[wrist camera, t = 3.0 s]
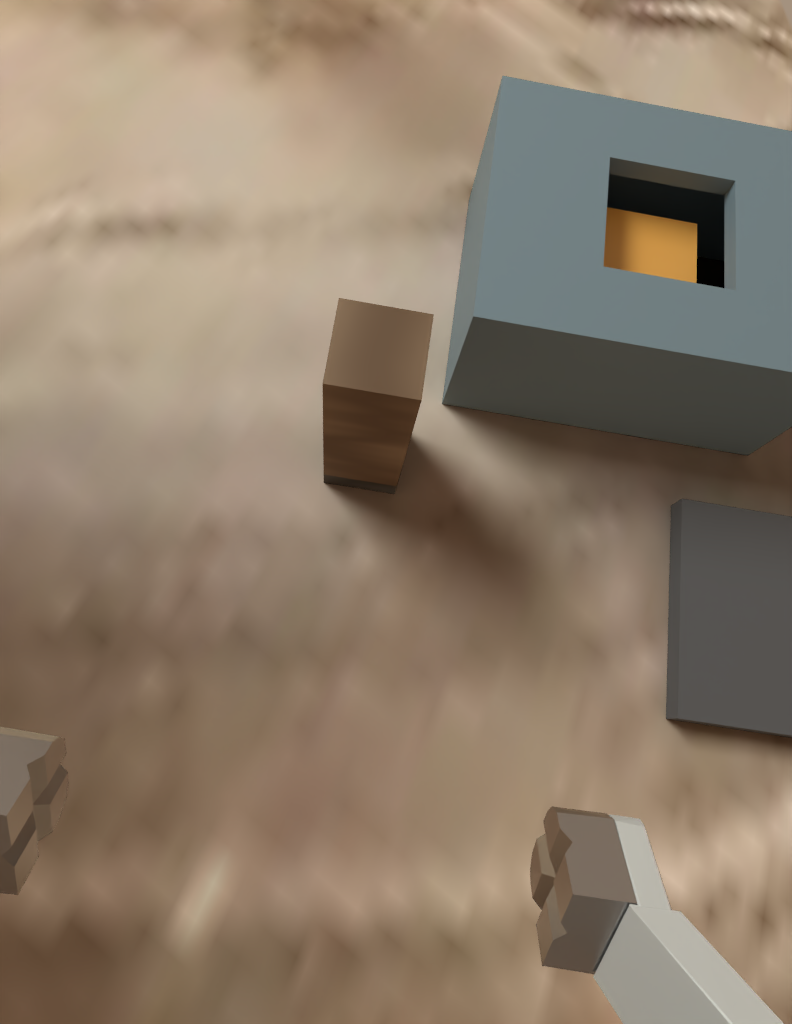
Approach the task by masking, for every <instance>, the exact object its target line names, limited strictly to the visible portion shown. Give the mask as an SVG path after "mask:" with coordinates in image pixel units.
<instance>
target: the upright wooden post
mask: <svg viewBox="0 0 792 1024" xmlns="http://www.w3.org/2000/svg"><path fill="white" fill-rule="evenodd" d="M432 322H433V314H427V313H422V312H416V311H410V310H404V309H399V308H393V307H387V306H382V305H376V304H370V303H364V302H359V301H353V300H347V299H342V298H339V301H338V306H337V311H336V317H335V322H334V327H333V332H332V338H331V343H330V348H329V353H328V359H327V364H326V369H325V375H324V380H323V447H324V483H330V484H336V485H343V486H349V487H355V488H361V489H367V490H373V491H379V492H386V493H392V494H395V490H396V487H397V483H398V480H399V476H400V473H401V469H402V466H403V462H404V459H405V455H406V452H407V449H408V445H409V442H410V438H411V435H412V431H413V428H414V424H415V421H416V417H417V414H418V410H419V407H420V403H421V400H422V392H423V385H424V378H425V371H426V364H427V357H428V350H429V343H430V336H431V329H432Z"/></svg>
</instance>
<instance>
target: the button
mask: <svg viewBox="0 0 792 1024" xmlns="http://www.w3.org/2000/svg"><path fill="white" fill-rule="evenodd" d="M603 266H604V267H609V268H615V269H620V270H626V271H631V272H637V273H643V274H648V275H654V276H659V277H665V278H670V279H676V280H681V281H687V282H692V283H696V281H697V224H696V223H690V222H685V221H680V220H674V219H669V218H663V217H658V216H653V215H647V214H642V213H636V212H631V211H625V210H620V209H615V208H609V207H607V215H606V232H605V249H604V265H603Z"/></svg>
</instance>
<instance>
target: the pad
mask: <svg viewBox="0 0 792 1024" xmlns="http://www.w3.org/2000/svg"><path fill="white" fill-rule="evenodd" d="M666 719H671V720H677V721H684V722H691V723H697V724H704V725H711V726H717V727H724V728H731V729H737V730H744V731H751V732H757V733H764V734H771V735H777V736H784V737H791V738H792V517H790V516H784V515H778V514H772V513H766V512H760V511H754V510H748V509H742V508H736V507H730V506H723V505H717V504H711V503H705V502H699V501H693V500H687V499H681V500H679V501H678V502H676V503H675V504H673V505H671V533H670V575H669V618H668V660H667V703H666Z"/></svg>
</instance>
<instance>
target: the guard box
mask: <svg viewBox="0 0 792 1024" xmlns="http://www.w3.org/2000/svg"><path fill="white" fill-rule="evenodd" d="M607 207H609V208H615V209H620V210H625V211H631V212H636V213H642V214H647V215H653V216H658V217H663V218H669V219H674V220H680V221H685V222H690V223H696V224H697V256H698V257H704V258H709V259H715V260H720V261H724V288H720V287H715V286H709V285H703V284H698V283H692V282H687V281H681V280H676V279H670V278H665V277H659V276H654V275H648V274H643V273H637V272H631V271H626V270H620V269H615V268H609V267H604V266H603V265H604V249H605V232H606V215H607ZM442 404H447V405H453V406H459V407H465V408H471V409H477V410H483V411H488V412H494V413H500V414H506V415H512V416H518V417H524V418H530V419H536V420H542V421H547V422H553V423H559V424H565V425H571V426H577V427H583V428H589V429H595V430H601V431H607V432H612V433H618V434H624V435H630V436H636V437H642V438H648V439H654V440H660V441H666V442H672V443H677V444H683V445H689V446H695V447H701V448H707V449H713V450H719V451H725V452H731V453H737V454H742V455H749V454H751V453H752V452H754V451H755V450H757V449H758V448H760V447H762V446H763V445H765V444H766V443H768V442H769V441H771V440H772V439H774V438H775V437H777V436H778V435H780V434H782V433H783V432H785V431H786V430H788V429H789V428H791V427H792V131H788V130H782V129H777V128H772V127H767V126H762V125H756V124H751V123H746V122H741V121H736V120H730V119H725V118H720V117H715V116H710V115H704V114H699V113H694V112H689V111H683V110H678V109H673V108H668V107H663V106H657V105H652V104H647V103H642V102H637V101H631V100H626V99H621V98H616V97H611V96H605V95H600V94H595V93H590V92H585V91H579V90H574V89H569V88H564V87H559V86H553V85H548V84H543V83H538V82H533V81H527V80H522V79H517V78H512V77H507V76H502V80H501V84H500V87H499V91H498V95H497V99H496V102H495V106H494V110H493V113H492V117H491V121H490V125H489V128H488V132H487V136H486V139H485V143H484V147H483V151H482V154H481V158H480V162H479V165H478V169H477V173H476V177H475V180H474V184H473V188H472V191H471V195H470V199H469V204H468V212H467V219H466V227H465V235H464V242H463V250H462V257H461V265H460V272H459V280H458V288H457V295H456V303H455V310H454V318H453V325H452V333H451V341H450V348H449V356H448V363H447V371H446V379H445V386H444V394H443V401H442Z"/></svg>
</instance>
